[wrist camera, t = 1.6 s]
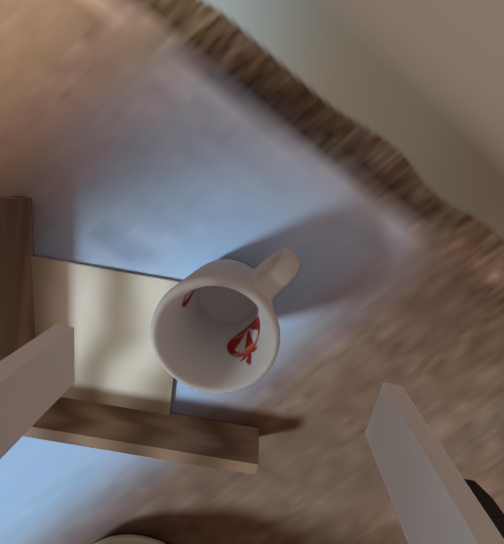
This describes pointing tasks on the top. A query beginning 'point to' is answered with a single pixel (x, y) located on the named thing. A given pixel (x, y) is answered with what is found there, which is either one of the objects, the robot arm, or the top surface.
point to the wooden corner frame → (105, 356)
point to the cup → (222, 323)
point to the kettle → (129, 540)
